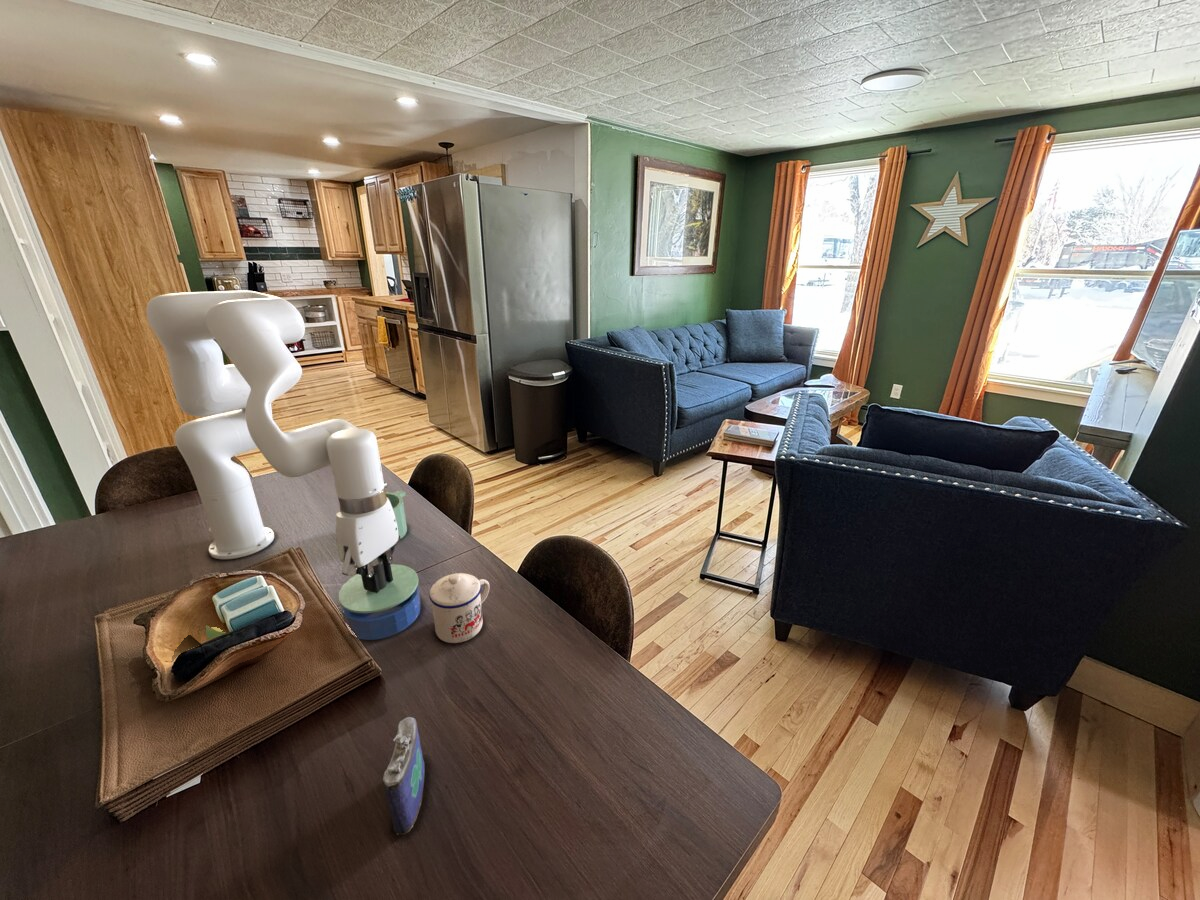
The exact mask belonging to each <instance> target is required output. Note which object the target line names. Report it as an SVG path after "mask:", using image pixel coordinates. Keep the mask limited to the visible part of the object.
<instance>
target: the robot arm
mask: <svg viewBox="0 0 1200 900" xmlns="http://www.w3.org/2000/svg"><path fill="white" fill-rule="evenodd" d="M145 311H146V317H147V318H146V319H147V322H148V324H149V327H150V329H151V331H152V332H153V334H154V335H155V337H156V338H157V340H158V341H159V343H160V344H161V346H162V348H163V349H164V352H165V356H166V359H167V365H168V368H169V373H170V378H171V383H172V388H173V391H174V395H175V399H176V402H177V405H178V407H179V408H180V410H181V411H182V412H183V413H184V414H186V415H188V416H190V417H196V418H195V419H193V420H189V421H187V422H185V423H183V424H181V425H180V426H178V428H177V429H176V430H175V431H174V436H173V438H174V443H175V445H176V447H177V449H178V451H179V453H180V454H181V456H182V458H183V459H184V461H185V463H186V466H187V467H188V469H189V471H190V473H191V476H192V478H193V481H194V484H195V486H196V489H197V493H198V495H199V498H200V502H201V505H202V508H203V510H204V513H205V517H206V520H207V522H208V525H209V528H208V529H207V532H208V533H211V535H212V537H213V541H212V542H211V543H210V544H209V546H208V553H209V555H210V557H212V558H214V559H217V560H234V559H235V560H236V559H239V558H244V557H247V556H251V555H253V554H255V553H258V552H260V551H262V550H263V549H265V548H267V547H268V546H270V545H271V543H272V542H273V541H274V539H275V533H274V530H272V529H271V528H270V527H266V526H265V525H264V523H263V519H262V515H261V512H260V508H259V506H258V501H257V497H256V495H255V491H254V487H253V483H252V480H251V477H250V474H249V472H248V470H247V469H246V468H245V467H244V466H242V465H241V464H239V463H236V462H235V461H233V460H232V458H233V457H235V456H238V455H241V454H244V453H247V452H250V451H254V450H259V451H260V453H261V454H262V456H263V457H264V458H265V460H266V461H267V462H268V464H269V465H270V466H271V467H272V469H274V470H275V471H276V473H278V474H280V475H282V476H284V477H286V478H299V477H302V476H305V475H309V474H311V473H313V472H316V471H319V470H321V469H325V468H327V467H330V470H331V475H332V481H333V485H334V489H335V493H336V499H337V502H338V507H339V511H338V512H336V513H335V541H336V548H337V553H338V558H339V562H341V563H343V566H342V570H341V574H342V575H343V576H347V577H353V576H355V575H356V574H359V575H361V577H362V582H363V587H364V589H365V590H368V591H371V592H374V593H378V592H379V591H380V588H379V582H378V577H377V574H375V573H374V571H373V563H372V560H374V559H375V558H381V559H382V560H383V566H384V571H385V577H386V582H392V581H393V576H392V570H391V565H390V564H391V563H392V562H393V559H394V558H393V557H394V556H393V554H394V553H395V549H396V547H397V545H398V544H399V542H400V541H401V539H402V538H401V537H400V535H399V534H398V527H397V522H396V518H395V514H394V511H393V508H392V506H391V503H390V501H389V499H388V498H387V497H386V492H387V491H386V489H387V488H388V483H387V482H386V481H385V480H384V475H383V469H382V463H381V456H380V450H379V445H378V440H377V439H378V438H377V437H376V434H375V433H374V432H373V431H371V430H369V429H367V428H360V427H359V428H358V427H357V426H356V425H354V424H352V423H351V422H349V421H348V420H345V419H342V418H333V419H328V420H325V421H321V422H318V423H312V424H310V425H306V426H304V427H300V428H296V429H293V430H289V431H286V432H283V431H282V429H280V428H279V427H280V426H278V424H277V423H276V422H275V420H274V417H273V407H272V403H273V402H275V400H277V399H278V398H280V397H281V396H282V395H284V394H285V393H287V392H289V391H290V390H291V389H292V388H293V387H294V386H295V385H297V384H298V382H299V381H300V380H301V378H302V376H303V368H302V366H301V364H300V363H299V362H298V361H297V359H296V357H295V356H294V355H293V353H292V352H291V351H290V349H289V348H288V346H287V345H288V344H294V343H297V342H300V341H301V340H302V339H303V338H304V336H305V332H306V324H305V321H304V319H303V316H302V314H301V313H300V312H299V310H298V308H296V306H295V305H293V303H291V302H290V301H288V300H287V299H285V298H283V297H280V296H276V295H272V294H266V293H262V292H258V291H253V290H227V291H226V290H224V291H222V290H221V291H191V292H189V291H188V292H173V293H165V294H160V295H156V296H154V297H152V298H151V299H150V300H148V302H147V305H146V310H145ZM223 352H224V354H225V355H226V356H227V358H228V359H229V360H230V362H231V363H232V364H225V363H224V355H223ZM199 417H200V418H199Z"/></svg>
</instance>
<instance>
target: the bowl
mask: <svg viewBox="0 0 1200 900" xmlns="http://www.w3.org/2000/svg"><path fill="white" fill-rule="evenodd" d="M340 607H341V612H342V617H343V621H344V620H345V621H344V623H345V622H346V623H347V624H348V625H349V627H350V628H351V630H352V631H353V632H354V633H355V635H356V636H357V638H356V639H358V640H359V639H360V640H364V641H375V640H382V639H386V638H390V637H393V636H395V635H397V634H399V633H400V632H402V631H404V630H406V629H407V628H409V627H410V626H411V625H412V624H413V623H414V622H415V621H416V620H417V618H418V616H419V615H420V613H421V609H422V608H421V607H422V605H421V596H420V589H419V586H417V588H416V590H415V591H414V593H413V594H412V595H411V596H410V597H409V598H407V599H406V600H405V601H403V602H402V603H400V604H398V605H396V606H394V607H392V608H389V609H387V610H383V611H380V612H375V613H354V612H351V611H348V610H346V609H345V608H343V607H342V606H341V605H340Z"/></svg>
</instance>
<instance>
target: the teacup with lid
mask: <svg viewBox="0 0 1200 900" xmlns="http://www.w3.org/2000/svg"><path fill="white" fill-rule="evenodd" d="M482 586H483V591H482ZM490 587H491V586H490V582H489V581H488V580H487V579H483V578H481V579H478V578H477V577H476V576H474V575H472V574H470V573H464V572H459V573H458V572H457V573H456V572H455V573H452V574H448V575H445V576H443V577H440V578H439V579H438V580H437V581H435V582H434V584H433V585H432V586H431V587H430V591H429V595H428V596H429V601H430V602H431V610H432V616H433V623H434V631H435V634H436V636H437V637H438V639H440V640H441V641H442V642H445V643H449V644H459V643H463V642H466V641H469V640H471V639H473V638H475V636H476V635H478V634H479V632H480V631H481V629H482V627H483V625H484V624H483V623H484V622H483V621H484V620H483V609H482V608H483V607H482V604H483V603H484V602H485V600H486V599H487V597H488V595H489V593H490ZM481 591H482V592H481Z"/></svg>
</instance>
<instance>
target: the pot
mask: <svg viewBox="0 0 1200 900" xmlns="http://www.w3.org/2000/svg"><path fill="white" fill-rule="evenodd" d="M385 492H386V497H387V498H388V499H389V501H390V503H391V506H392V508H393V511H394V514H395V518H396V522H397V527H398V534H399V535H400V537H401V539H403V538H404V537H405V536H406V534H407V532H408V526H407V518H406V512H405V505H404V500H403V498H404V497H405V496H406V495H407V494H406V491H403V490H396V491H394V492H391V491H385Z"/></svg>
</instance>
